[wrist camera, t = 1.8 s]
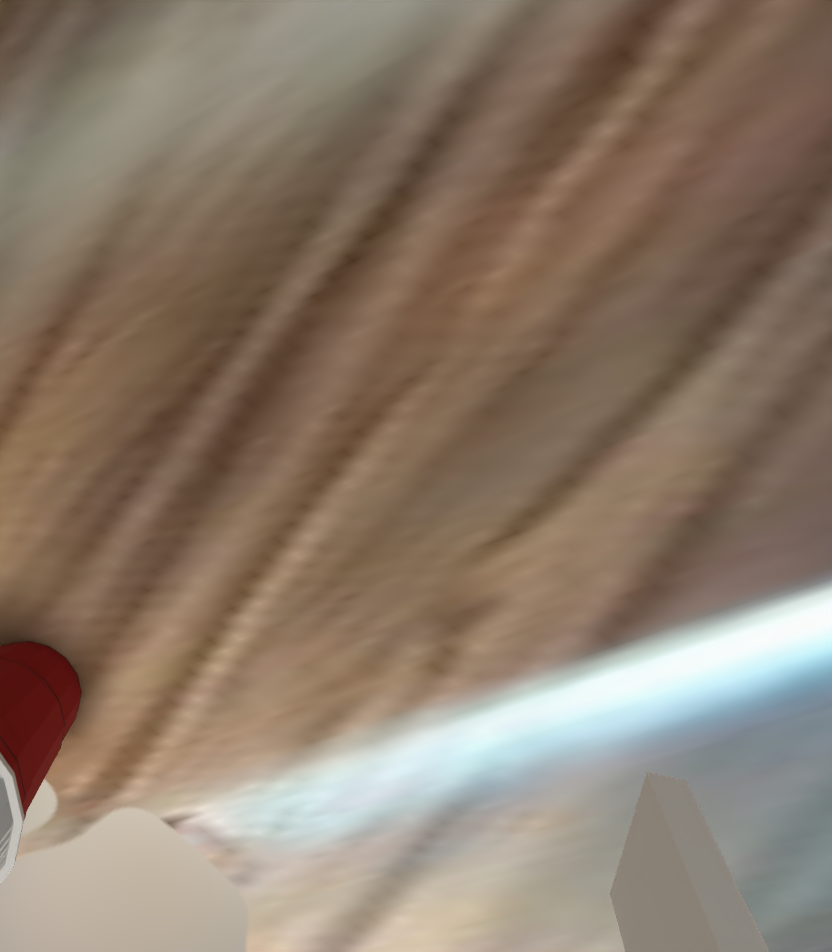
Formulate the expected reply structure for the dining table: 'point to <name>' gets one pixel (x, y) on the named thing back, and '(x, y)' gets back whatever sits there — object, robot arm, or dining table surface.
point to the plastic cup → (30, 731)
